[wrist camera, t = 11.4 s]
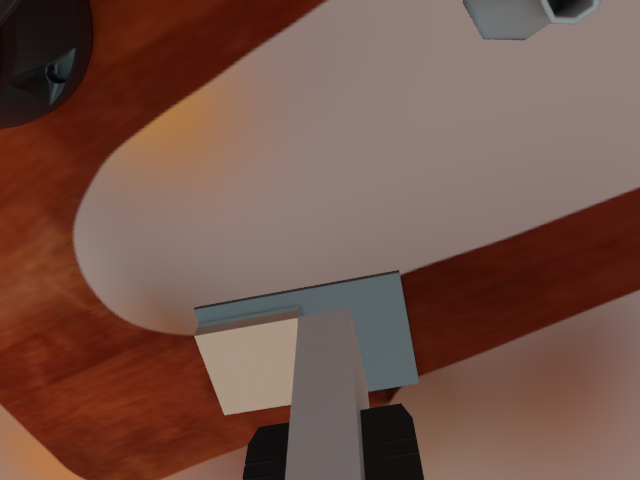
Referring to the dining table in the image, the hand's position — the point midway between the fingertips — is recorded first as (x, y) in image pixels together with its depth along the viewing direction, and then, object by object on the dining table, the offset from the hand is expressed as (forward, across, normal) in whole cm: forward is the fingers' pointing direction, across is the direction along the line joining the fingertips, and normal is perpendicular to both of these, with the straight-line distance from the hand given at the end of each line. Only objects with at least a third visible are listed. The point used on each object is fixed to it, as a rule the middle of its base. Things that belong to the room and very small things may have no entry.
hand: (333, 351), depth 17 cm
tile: (+27, -6, -20) cm, 34 cm away
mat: (+28, -6, -20) cm, 35 cm away
